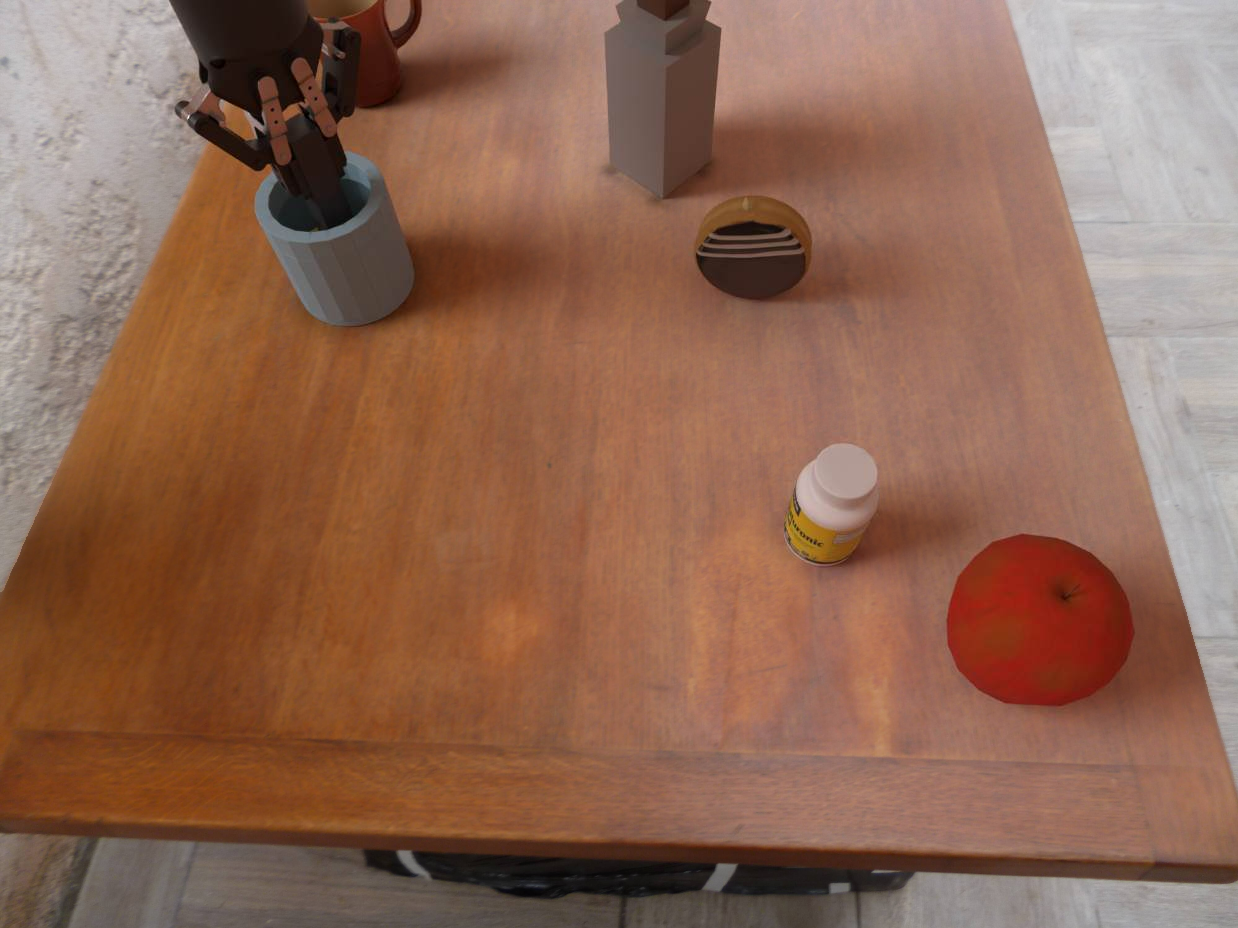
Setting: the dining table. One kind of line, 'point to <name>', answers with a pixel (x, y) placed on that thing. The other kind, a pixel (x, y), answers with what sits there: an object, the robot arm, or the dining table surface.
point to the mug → (371, 43)
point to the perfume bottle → (661, 90)
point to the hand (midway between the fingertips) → (317, 182)
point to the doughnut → (753, 247)
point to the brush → (318, 174)
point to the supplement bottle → (832, 505)
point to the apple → (1038, 622)
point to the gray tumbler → (341, 248)
